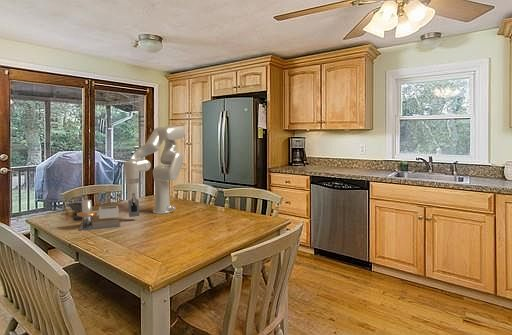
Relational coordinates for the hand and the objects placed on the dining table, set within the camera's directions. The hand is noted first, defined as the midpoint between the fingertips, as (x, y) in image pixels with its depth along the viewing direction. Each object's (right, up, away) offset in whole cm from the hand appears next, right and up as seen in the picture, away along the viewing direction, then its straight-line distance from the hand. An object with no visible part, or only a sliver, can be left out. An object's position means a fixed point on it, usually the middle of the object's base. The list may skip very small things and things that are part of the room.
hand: (133, 210), depth 189 cm
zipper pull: (-39, -5, +10) cm, 40 cm away
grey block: (0, -3, 0) cm, 3 cm away
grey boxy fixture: (-15, -7, -12) cm, 20 cm away
